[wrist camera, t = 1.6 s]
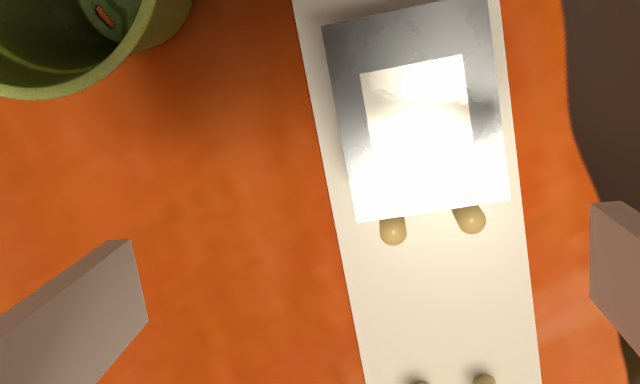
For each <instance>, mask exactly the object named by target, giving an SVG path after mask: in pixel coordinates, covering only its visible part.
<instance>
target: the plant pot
mask: <svg viewBox="0 0 640 384" xmlns="http://www.w3.org/2000/svg"><path fill="white" fill-rule="evenodd" d="M192 3H193V0H0V96H1V97H6V98H11V99H19V100H48V99H55V98H60V97H65V96H68V95H71V94H74V93H77V92H80V91H82V90H84V89H86V88H89V87H91V86H93V85H94V84H96V83H97V82H99V81H101V80H102V79H104V78H105V77H106V76H108V75H109V74H110V73H112V72H113V71H114V70H115V69H116V68H117V67H118V66H119V65H121V64H122V63H123V62H124V60H125V59H126V58H127V57H128V56H129V55H132V54H135V53H138V52H141V51H144V50H146V49H149V48H152V47H154V46H157V45H159V44H161V43H163V42H165V41H167V40H168V39H170V38H171V37H172V36H174V35H175V34H176V33H177V32H178V31H179V29H180V28H181V27H182V25H183V24H184V22H185V21H186V19H187V17H188V15H189V13H190V10H191V7H192ZM96 6H100V7H101V8H102V10H103V11H104V12H105V14H106V15H107V16H108V17H109V18H110V20H111V21H112V22H114V23H115V24H114V28H110V27H108V26H107V24H105V23H104V22H103V21H102V20H101V19H100V18H99V16H98V14H97V13H96V12H95V7H96Z"/></svg>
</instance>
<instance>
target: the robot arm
mask: <svg viewBox="0 0 640 384" xmlns="http://www.w3.org/2000/svg"><path fill="white" fill-rule="evenodd" d="M589 297H590V298H591V300H592V301H593V302H594V303H595V304H596V305H597V307H598V308H599V309H600V310H601V311H602V313H603V314H604V315H605V316H606V317H607V319H608V320H609V321H610V322H611V323H612V324H613V326H614V327H615V328H616V329H617V330H618V332H619V333H620V334H621V335H622V336H623V338H624V339H625V340H626V341H627V342H628V343H629V345H630V346H631V347H632V348H633V349H634V351H635V352H636V353H637V354H638V355H639V357H640V213H639V212H638V211H636V210H635V209H633V208H631V207H629V206H628V205H627V204H625V203H623V202H622V201H614V202H601V203H591V212H590V294H589ZM148 321H149V320H148V315H147V311H146V306H145V302H144V297H143V292H142V288H141V283H140V279H139V274H138V270H137V265H136V261H135V256H134V251H133V247H132V242H131V239H120V240H107V241H106V242H104V243H103V244H101V245H100V246H99V247H97V248H96V249H94V250H93V251H91V252H90V253H89V254H87V255H86V256H84V257H83V258H82V259H80V260H79V261H77V262H76V263H74V264H73V265H72V266H70V267H69V268H67V269H66V270H65V271H63V272H62V273H60V274H59V275H57V276H56V277H55V278H53V279H52V280H50V281H49V282H48V283H46V284H45V285H43V286H42V287H40V288H39V289H38V290H36V291H35V292H33V293H32V294H31V295H29V296H28V297H26V298H25V299H23V300H22V301H21V302H19V303H18V304H16V305H15V306H14V307H12V308H11V309H9V310H8V311H6V312H5V313H4V314H2V315H1V316H0V384H96V383H97V382H98V380H99V379H100V378H101V377H102V376H103V375H104V373H105V372H106V371H107V370H108V369H109V367H110V366H111V365H112V364H113V363H114V362H115V360H116V359H117V358H118V357H119V356H120V354H121V353H122V352H123V351H124V350H125V349H126V347H127V346H128V345H129V344H130V343H131V341H132V340H133V339H134V338H135V337H136V336H137V334H138V333H139V332H140V331H141V330H142V328H143V327H144V326H145V325H146V324H147V323H148Z"/></svg>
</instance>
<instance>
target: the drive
mask: <svg viewBox="0 0 640 384" xmlns="http://www.w3.org/2000/svg"><path fill="white" fill-rule="evenodd" d="M321 32H322V37H323V43H324V48H325V54H326V59H327V64H328V70H329V75H330V81H331V86H332V92H333V97H334V102H335V108H336V113H337V119H338V124H339V130H340V135H341V140H342V146H343V151H344V157H345V162H346V168H347V173H348V178H349V184H350V189H351V195H352V200H353V206H354V211H355V216H356V222H357V223H362V222H369V221H375V220H382V219H388V218H395V217H401V216H408V215H414V214H421V213H428V212H434V211H441V210H447V209H454V208H460V207H467V206H473V205H480V204H487V203H493V202H500V201H506V200H511V199H510V190H509V181H508V173H507V164H506V155H505V147H504V138H503V129H502V121H501V112H500V103H499V95H498V86H497V77H496V69H495V60H494V51H493V43H492V34H491V25H490V17H489V8H488V0H442V1H437V2H433V3H428V4H423V5H418V6H414V7H409V8H404V9H399V10H395V11H390V12H385V13H380V14H376V15H371V16H366V17H361V18H357V19H352V20H347V21H343V22H338V23H333V24H328V25H324V26H321Z"/></svg>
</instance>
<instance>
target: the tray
mask: <svg viewBox="0 0 640 384" xmlns="http://www.w3.org/2000/svg"><path fill="white" fill-rule="evenodd" d="M437 1H442V0H292V5H293V11H294V16H295V21H296V26H297V31H298V36H299V42H300V47H301V52H302V57H303V62H304V67H305V72H306V78H307V83H308V88H309V93H310V98H311V103H312V109H313V114H314V119H315V124H316V129H317V134H318V139H319V145H320V150H321V155H322V160H323V165H324V170H325V176H326V181H327V186H328V191H329V196H330V201H331V206H332V212H333V217H334V222H335V227H336V232H337V237H338V243H339V248H340V253H341V258H342V263H343V268H344V273H345V279H346V284H347V289H348V294H349V299H350V304H351V310H352V315H353V320H354V325H355V330H356V335H357V340H358V346H359V351H360V356H361V361H362V366H363V371H364V377H365V382H366V384H542V381H541V372H540V362H539V353H538V344H537V335H536V326H535V317H534V308H533V299H532V290H531V281H530V272H529V263H528V254H527V245H526V236H525V227H524V218H523V209H522V200H521V190H520V181H519V172H518V163H517V154H516V145H515V136H514V127H513V118H512V109H511V100H510V91H509V82H508V73H507V64H506V55H505V46H504V37H503V28H502V18H501V9H500V0H488V8H489V17H490V25H491V34H492V43H493V51H494V60H495V69H496V77H497V86H498V95H499V103H500V112H501V121H502V129H503V138H504V147H505V155H506V164H507V173H508V181H509V190H510V199H511V200H506V201H500V202H493V203H487V204H480V205H473V206H467V207H460V208H454V209H447V210H441V211H434V212H428V213H421V214H414V215H408V216H401V217H395V218H388V219H382V220H375V221H369V222H362V223H357V222H356V216H355V211H354V206H353V200H352V195H351V189H350V184H349V178H348V173H347V168H346V162H345V157H344V151H343V146H342V140H341V135H340V130H339V124H338V119H337V113H336V108H335V102H334V97H333V92H332V86H331V81H330V75H329V70H328V64H327V59H326V54H325V48H324V43H323V37H322V32H321V26H324V25H328V24H333V23H338V22H343V21H347V20H352V19H357V18H361V17H366V16H371V15H376V14H380V13H385V12H390V11H395V10H399V9H404V8H409V7H414V6H418V5H423V4H428V3H433V2H437Z"/></svg>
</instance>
